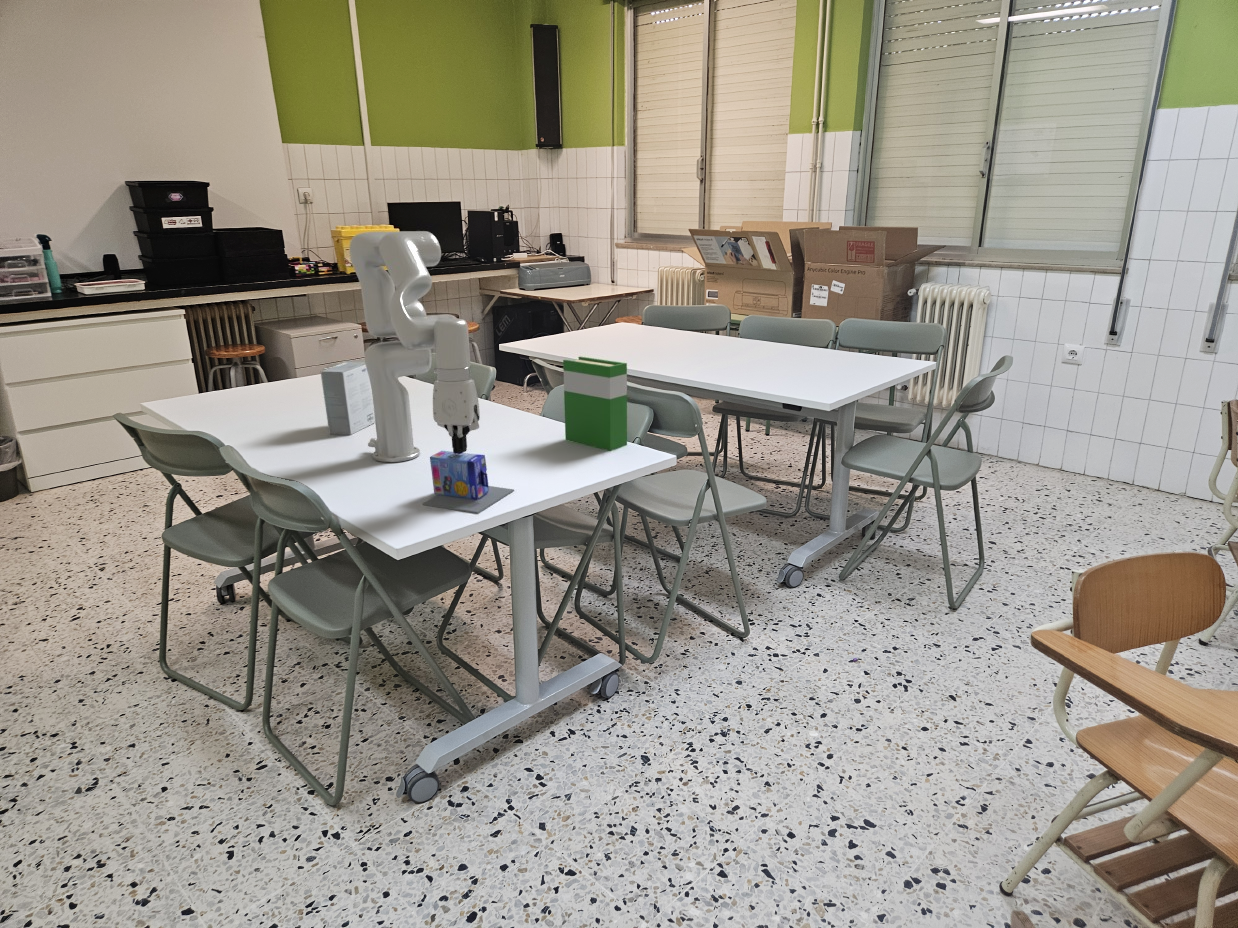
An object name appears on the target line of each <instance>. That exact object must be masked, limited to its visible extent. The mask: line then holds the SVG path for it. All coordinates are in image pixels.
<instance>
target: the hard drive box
mask: <svg viewBox="0 0 1238 928" xmlns="http://www.w3.org/2000/svg"><path fill="white" fill-rule="evenodd" d="M320 377H321V387H322V391H323V399H324V405H325V406H324V407H325V413H326V420H327V427H328V433H329V435H339V436H341V435H342V436H351V435H353V434H355V433H358V432H360V431H361V430H363V429H365V428H367V427H369V425H370V426H371V425H373V424H375V415H374V406H373V397H372V390H371V384H370V379H369V375H368V371H367V368H366V364H365V361H363V362H362V361H346V362H345V361H344V362H343V363H340V364H337V365H335V366H332V367H329V368H327V369H324V370H321V371H320Z"/></svg>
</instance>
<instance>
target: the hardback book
mask: <svg viewBox="0 0 1238 928" xmlns="http://www.w3.org/2000/svg"><path fill="white" fill-rule="evenodd" d="M562 363H563V364H562V366H563V367H562V368H563V397H564V399H563V400H564V402H563V405H564V427H565V429H564V430H565V439H564V440H565V441H567V442H572V443H576V444H579V445H580V444H581V445H585V446H589V447H593V448H597V449H601V450H604V451H610V452H611V451H615V450H617V449H620V448H623V447H626V446H628V363H627V362H621V361H614V360H608V359H602V358H601V359H600V358H592V357H586V356H578V359H576V360H570V359H563V360H562Z"/></svg>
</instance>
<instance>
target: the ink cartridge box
mask: <svg viewBox="0 0 1238 928" xmlns="http://www.w3.org/2000/svg"><path fill="white" fill-rule="evenodd" d="M486 461H487V460H486V455H485V454H477V453H468V452H467V453H466V452H463V453H461V454H457V453H456V454H455V453H453V451H449V450H448V451H447V450H440V451H439V452H436V453H435V454H433V455H431V456H430V457H429V462H430V468H431V469H430V470H431V471H430V472H431V476H432V477H431V479H432V485H433V493H434V494H435V495H446V496H454V497H461V498H468V499H475V500H478V499H480V498H481V497H483V496H484V495H485V494H486V493H488V492H489V486H490V485H489V480H488V479H489V478H488V473H487V469H488V468H487V462H486Z"/></svg>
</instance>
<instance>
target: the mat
mask: <svg viewBox="0 0 1238 928" xmlns="http://www.w3.org/2000/svg"><path fill="white" fill-rule="evenodd" d="M488 486H489V492H488V493H486V494H485V495H484V496H483V497H481V498H480V499H478V500H475V499H468V498H461V497H454V496H446V495H439V494H436V495H435V496H433V497H431V498H430V499H428V500H426V501H424V502H423V503H422V506H427V507H433V508H438V509H444V510H453V511H458V512H465V513H469V514H477V515H479V514H481V513H482V512H483V511H485V510H486V509H488V508H490V507H491V506H493V505H495V504H497V503H498V502H499V501H501V500H502V499H504V498H506V497H507V496H508V494H509V495H510V494H511V493H513V491H514V492H515V489H514V488H506V487H500V486H491V485H488Z"/></svg>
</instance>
